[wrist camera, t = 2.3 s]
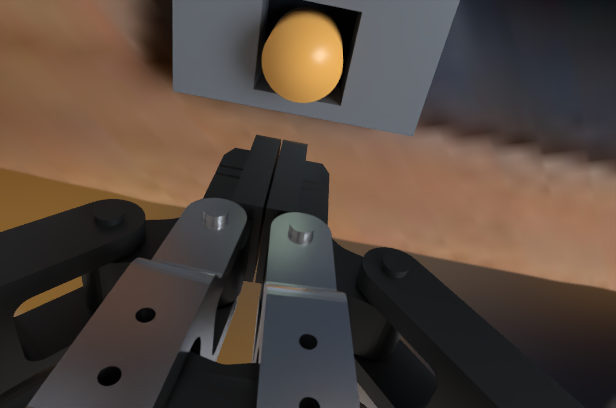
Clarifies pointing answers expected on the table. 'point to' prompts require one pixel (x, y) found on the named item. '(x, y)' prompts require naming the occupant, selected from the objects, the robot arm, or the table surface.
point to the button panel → (358, 71)
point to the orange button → (303, 55)
